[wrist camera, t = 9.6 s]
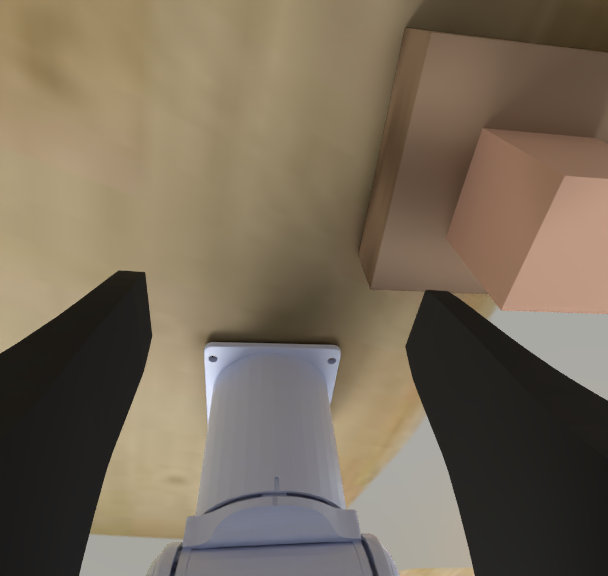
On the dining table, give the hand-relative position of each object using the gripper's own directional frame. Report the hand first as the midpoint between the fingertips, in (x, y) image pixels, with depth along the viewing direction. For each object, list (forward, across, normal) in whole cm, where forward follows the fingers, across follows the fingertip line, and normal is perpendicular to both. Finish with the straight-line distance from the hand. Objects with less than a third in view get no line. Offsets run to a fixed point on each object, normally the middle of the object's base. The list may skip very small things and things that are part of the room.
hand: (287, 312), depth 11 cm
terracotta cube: (+6, -9, -2) cm, 11 cm away
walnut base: (+10, -9, -2) cm, 13 cm away
